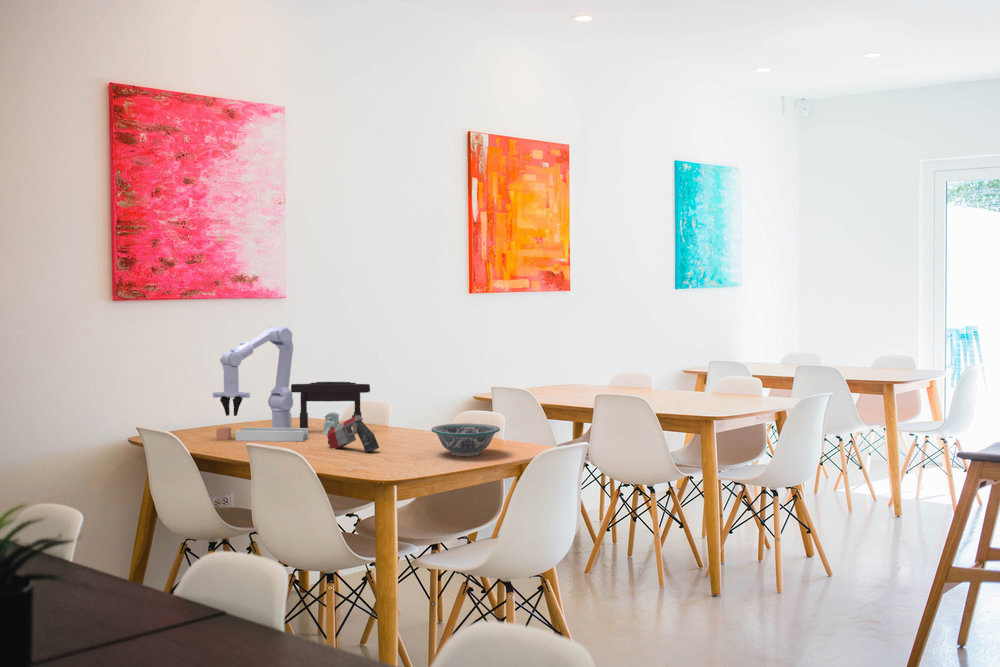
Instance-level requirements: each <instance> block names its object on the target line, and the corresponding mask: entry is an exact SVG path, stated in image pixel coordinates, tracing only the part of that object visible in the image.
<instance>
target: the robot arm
mask: <svg viewBox="0 0 1000 667" xmlns="http://www.w3.org/2000/svg"><path fill="white" fill-rule="evenodd" d="M267 342H270V343H271V344H273V345H274V346H276V347H277V348H278V352H279V353H278V360H277V369H276V370H277V371H276V376H275V377H276V378H275V379H276V380H275V386H274V388H273V389H272V390H271V391H270V395H269V397H268V399H267V404H268V406H269V408H270V410H271V422H272V423H271V428H293V427H292V413H291V409H292V408H293V405H294V399H293V392H291V388H289V387H290V380H291V379H290V378H291V372H292V371H291V368H292V362H293V361H292V360H293V354H294V344H293V343H294V342H293V332H292V331H291V329H289V328H288V327H286V326H283V327H282V326H281V327H280V326H269V327H268V328H265V329H264V330H263V332H261V333H259V334H258V335H257V336H256V337H254V338H253V339H251V340H250V341H249V342H248V341H241V342H240V343H239V345H237V346H236V347H234V348H233V347H232V348H231V349H230V351H225V352H224V353H222V355H221V358H220V359H219V361H220V362H219V363H220V364H221V365H222V369H223V391H220V392H216V391H214V392H212V398H220V399H219V401H220V403H221V405H222V407H223V409H224V414H225V417H226V416H227V417H229V416H230V415H231V414H230V412H231V411H230V405H231V404H230V401H231V398H232V403H233V405H232V406H233V416H234V417H237V416H238V412H239V409H240V406H241V403H242V401H243V399H244V398H245V399H249V398H251V393H250V392H243V391H242V392H241V391H240V389H239V387H240V386H239V385H240V384H239V366H240V365H241V363H242V361H243V360H245V359H246V358H248V357H249V356H251V355H253V354H254V350H255V349H257V348H259V347H260V346H262V345H264V344H266V343H267Z"/></svg>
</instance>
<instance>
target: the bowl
mask: <svg viewBox="0 0 1000 667" xmlns="http://www.w3.org/2000/svg"><path fill="white" fill-rule="evenodd" d="M500 430H501V428H500V426H495V425H491V424H485V423H469V422H468V423H449V424H448V423H447V424H441V425H436V426H433V427H431V432H432V433H434V434H436V435H437V437H438V440H439V441H440V443H441V445H442V447H443V448H444V449H446V450H448V451H449V452H450V454H452V455H451V456H453V455H457V456H456V457H459V456H472V457H475V456H474V455H478V456H480V455H481V451H483V450H485V449H487V448H488V447H489V445H490V444H491V442H492V439H493V438H494V435H495V434H496V433H498V432H500ZM479 454H480V455H479Z"/></svg>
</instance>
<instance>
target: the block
mask: <svg viewBox="0 0 1000 667" xmlns="http://www.w3.org/2000/svg"><path fill="white" fill-rule="evenodd" d="M215 430H216V436H215V437H216V441H228V440H231V439H232V427H231V426H230V427H229V426H226V427H225V426H224V427H223V426H219V427H217V428H216V429H215Z"/></svg>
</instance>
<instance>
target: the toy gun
mask: <svg viewBox="0 0 1000 667" xmlns="http://www.w3.org/2000/svg"><path fill="white" fill-rule="evenodd" d="M363 421H364V418H363V417H362V415H361V416H360V415H357V414H354V413H353V414H352V415H351V418H349V419H346V420H345V421H343V422H340V424H338V425H337V426H336V427H334V428H333V426H332V427H331V428H330V430H328V433H327V435H326V437H327V439H328V440H327V444H328V445H329V448H330V447H331V448H330V449H332V448H336V449H340V448H344V447H346V446H347V445H350V444H351V443H353V442H356V441H357V437H356V434H357V436H358V438H359V439H360V443H361V444H362V446H363V450H364V453H370V451H371V452H373V451H376V450H378V449H380V446H379V443H378V441H377V439H376V436H375V434H374V432H373V431H372V430H371V429H370V428H368V426H367V425H366V424H365V423H364V422H363ZM339 447H340V448H339Z"/></svg>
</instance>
